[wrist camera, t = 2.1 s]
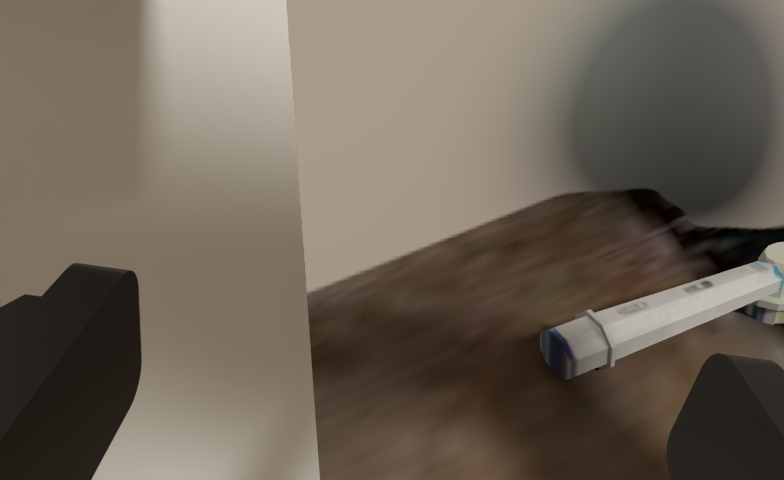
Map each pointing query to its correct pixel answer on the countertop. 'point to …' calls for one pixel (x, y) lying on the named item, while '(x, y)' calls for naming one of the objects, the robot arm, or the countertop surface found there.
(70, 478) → the robot arm
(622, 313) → the toothbrush head
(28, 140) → the stepped stand
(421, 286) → the countertop surface
